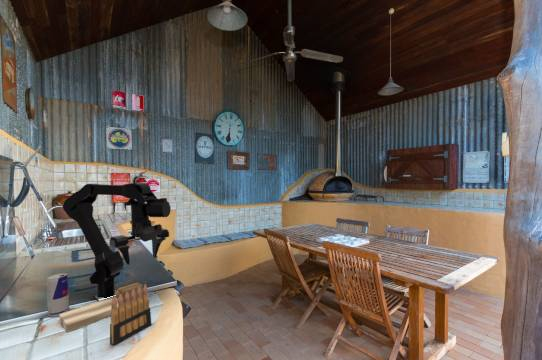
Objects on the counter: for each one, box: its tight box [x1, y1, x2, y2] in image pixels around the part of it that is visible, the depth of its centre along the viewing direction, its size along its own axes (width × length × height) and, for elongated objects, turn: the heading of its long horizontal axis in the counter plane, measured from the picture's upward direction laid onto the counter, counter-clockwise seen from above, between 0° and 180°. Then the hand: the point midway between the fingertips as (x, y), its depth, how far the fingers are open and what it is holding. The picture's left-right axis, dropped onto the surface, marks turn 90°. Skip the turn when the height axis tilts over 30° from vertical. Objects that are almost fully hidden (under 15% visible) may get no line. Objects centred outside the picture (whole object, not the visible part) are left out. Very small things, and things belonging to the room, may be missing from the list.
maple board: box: [58, 296, 118, 333], centre depth 84 cm, size 10×22×2 cm, turn 139°
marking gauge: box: [115, 282, 144, 307], centre depth 86 cm, size 13×6×8 cm, turn 49°
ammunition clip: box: [109, 283, 152, 347], centre depth 71 cm, size 11×2×12 cm, turn 150°
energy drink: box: [46, 272, 70, 318], centre depth 84 cm, size 5×5×12 cm
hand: (141, 261), depth 94 cm, fingers open, 9 cm apart
